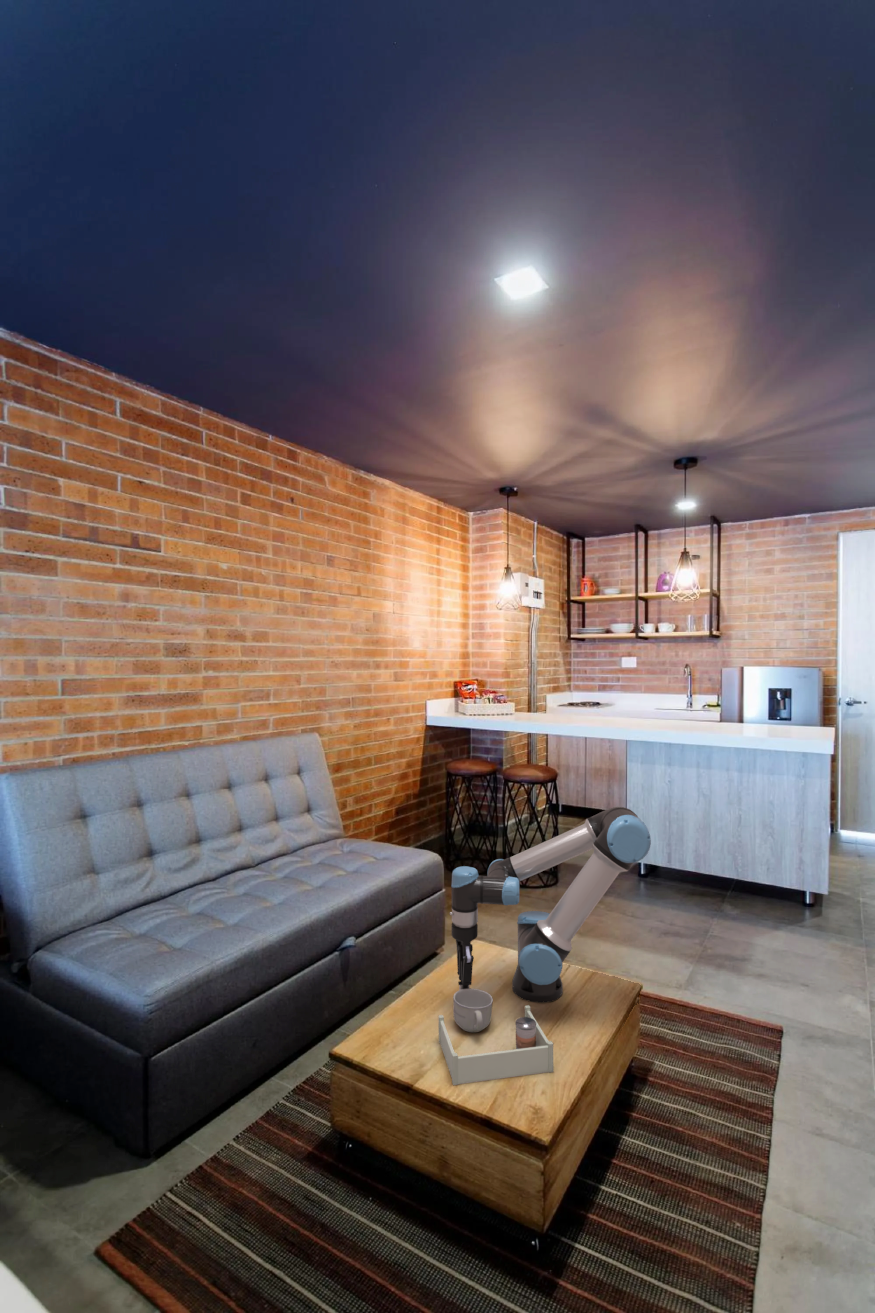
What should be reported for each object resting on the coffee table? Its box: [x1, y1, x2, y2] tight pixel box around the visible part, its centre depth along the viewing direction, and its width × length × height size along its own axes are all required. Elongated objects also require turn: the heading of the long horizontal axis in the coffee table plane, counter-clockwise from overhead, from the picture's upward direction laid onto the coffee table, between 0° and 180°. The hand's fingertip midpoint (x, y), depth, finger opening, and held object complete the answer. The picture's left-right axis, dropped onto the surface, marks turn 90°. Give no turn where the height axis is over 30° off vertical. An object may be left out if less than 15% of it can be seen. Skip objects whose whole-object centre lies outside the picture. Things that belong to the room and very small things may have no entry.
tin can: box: [515, 1016, 536, 1049], centre depth 163 cm, size 5×5×8 cm
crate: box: [438, 1004, 554, 1086], centre depth 162 cm, size 25×18×7 cm
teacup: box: [452, 987, 494, 1033], centre depth 174 cm, size 14×11×8 cm
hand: (464, 1005), depth 184 cm, fingers closed
